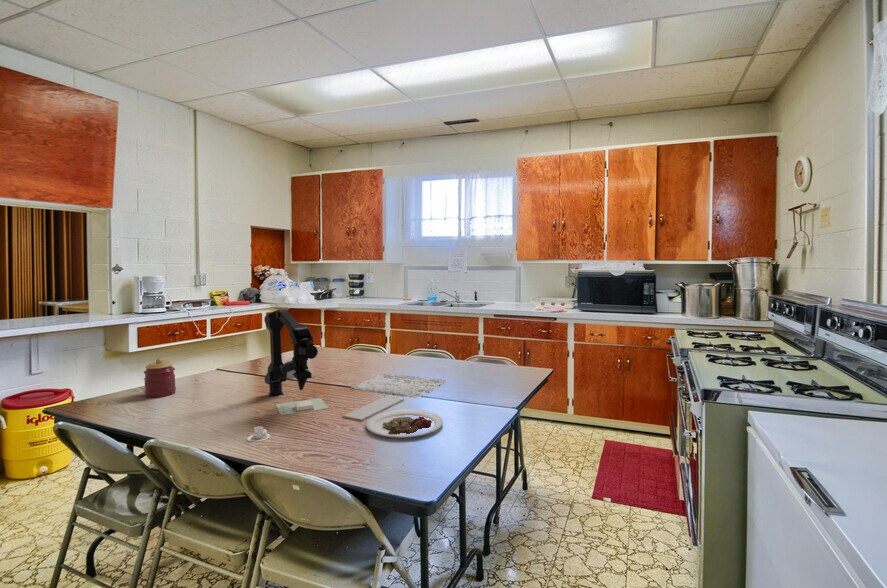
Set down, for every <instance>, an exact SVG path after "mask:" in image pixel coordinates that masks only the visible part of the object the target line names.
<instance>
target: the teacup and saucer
mask: <svg viewBox="0 0 887 588" xmlns="http://www.w3.org/2000/svg"><path fill="white" fill-rule="evenodd" d="M253 430H254V432H253V434H251V435H249V436H247V438H246V440H247V441H249V442H253V443H256V442H257V443H258V442H262V441H266V440H268V439H270V438H271V434H270V433H268V432H267V429H266V428H264V426H255V427H254V428H253ZM264 435H265V436H266V438H263V436H264ZM253 437H255V438H256V439H258V440H253V439H251V438H253ZM262 438H263V439H262Z"/></svg>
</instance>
